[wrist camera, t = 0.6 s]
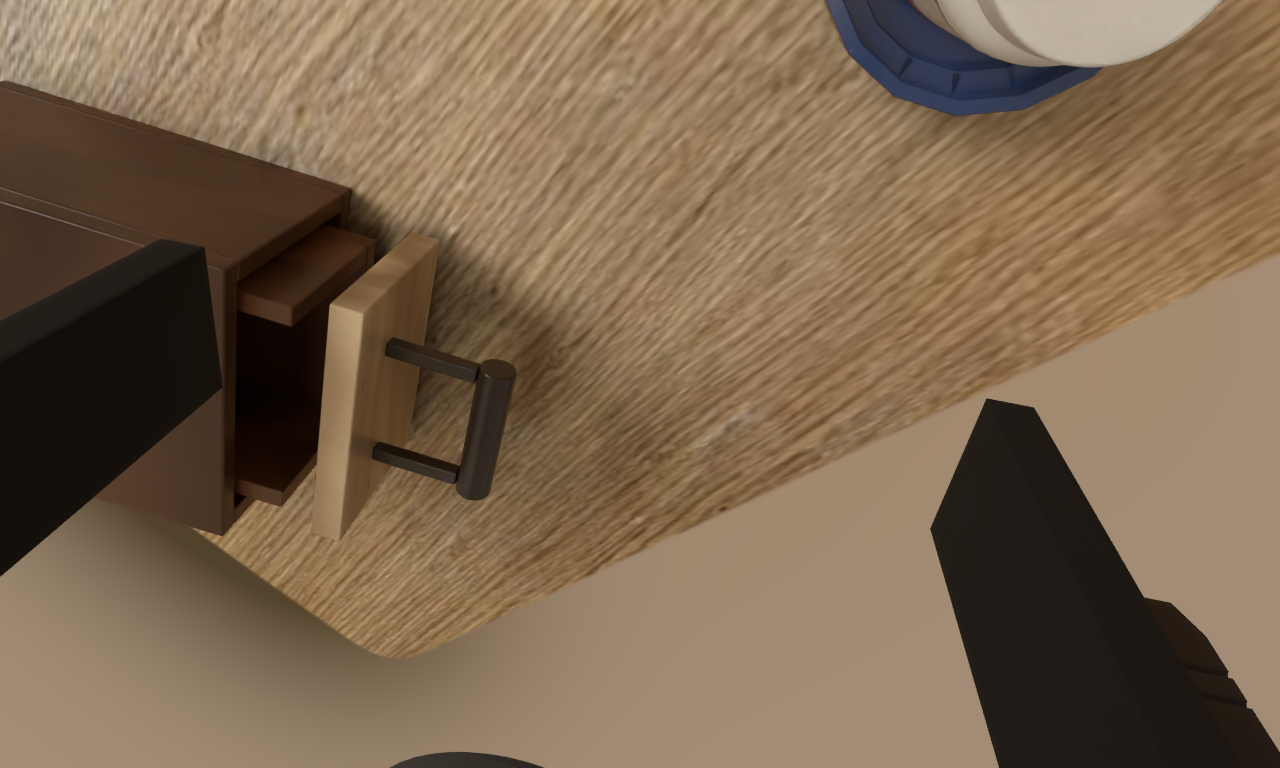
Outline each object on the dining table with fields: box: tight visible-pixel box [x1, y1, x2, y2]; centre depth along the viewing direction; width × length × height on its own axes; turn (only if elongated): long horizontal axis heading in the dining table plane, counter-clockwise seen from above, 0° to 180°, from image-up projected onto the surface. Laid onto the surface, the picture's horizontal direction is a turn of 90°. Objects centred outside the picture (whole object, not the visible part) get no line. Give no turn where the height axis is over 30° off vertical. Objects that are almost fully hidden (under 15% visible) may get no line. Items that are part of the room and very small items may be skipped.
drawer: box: [234, 223, 517, 541], centre depth 32 cm, size 18×10×7 cm, turn 74°
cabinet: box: [0, 81, 351, 536], centre depth 32 cm, size 15×12×9 cm
